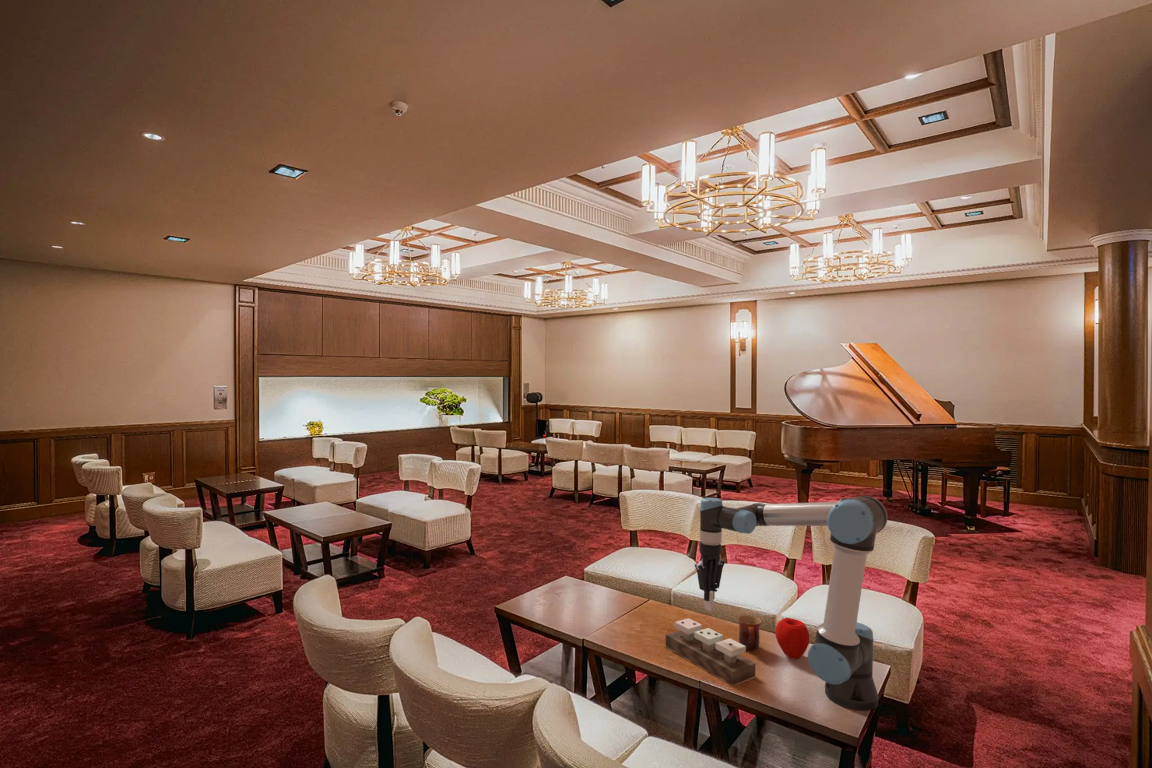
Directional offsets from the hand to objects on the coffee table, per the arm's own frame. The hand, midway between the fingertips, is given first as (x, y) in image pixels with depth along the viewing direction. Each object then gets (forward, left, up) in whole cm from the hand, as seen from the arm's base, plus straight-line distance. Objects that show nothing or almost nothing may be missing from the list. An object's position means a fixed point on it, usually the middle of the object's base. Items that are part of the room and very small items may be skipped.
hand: (708, 609), depth 199 cm
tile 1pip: (-10, 0, -15) cm, 18 cm away
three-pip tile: (0, 0, -15) cm, 15 cm away
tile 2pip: (+10, 0, -15) cm, 18 cm away
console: (0, 0, -18) cm, 18 cm away
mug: (-1, -21, -18) cm, 28 cm away
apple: (-13, -29, -18) cm, 37 cm away
